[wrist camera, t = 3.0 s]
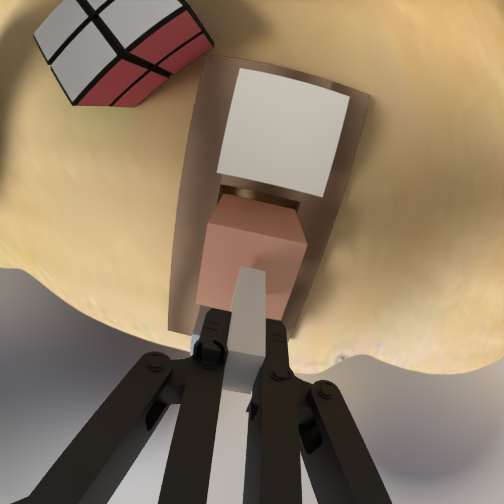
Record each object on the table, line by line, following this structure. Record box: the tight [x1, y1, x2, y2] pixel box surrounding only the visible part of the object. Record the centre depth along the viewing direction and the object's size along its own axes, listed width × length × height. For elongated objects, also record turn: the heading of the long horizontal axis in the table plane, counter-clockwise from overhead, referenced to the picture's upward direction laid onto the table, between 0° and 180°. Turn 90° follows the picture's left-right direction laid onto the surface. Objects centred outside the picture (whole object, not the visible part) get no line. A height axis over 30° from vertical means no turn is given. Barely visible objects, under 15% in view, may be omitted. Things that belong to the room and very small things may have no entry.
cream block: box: [217, 68, 350, 197], centre depth 16 cm, size 6×6×7 cm
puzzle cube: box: [33, 0, 214, 107], centre depth 14 cm, size 10×10×10 cm
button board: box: [168, 55, 370, 343], centre depth 25 cm, size 14×29×2 cm, turn 167°
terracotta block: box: [196, 194, 307, 321], centre depth 20 cm, size 6×6×7 cm
